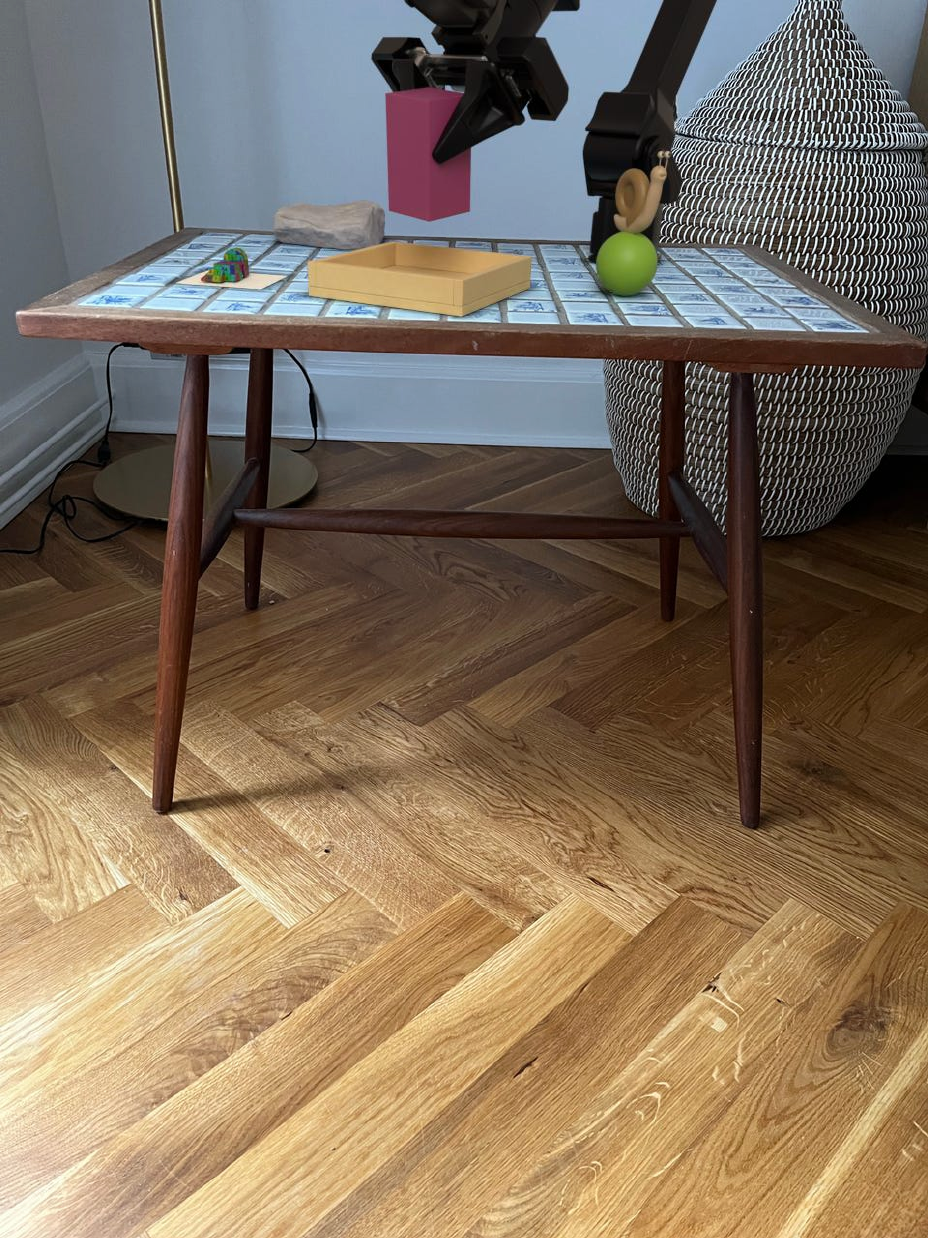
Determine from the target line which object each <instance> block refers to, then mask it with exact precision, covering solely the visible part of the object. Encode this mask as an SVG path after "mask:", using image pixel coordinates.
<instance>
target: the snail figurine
mask: <svg viewBox="0 0 928 1238" xmlns="http://www.w3.org/2000/svg"><path fill="white" fill-rule="evenodd" d="M670 156H671V153H670V152H669V151H666V152H665V153H664V152H663V151H660V152H659V153H658V157H659V158H660V164H661V158H663V157H665V158H666V159H667V160H668V158H669V157H670ZM666 167H667V161H666V166H665V168H664V167H663V166H660V165H659V166H656V167H654V168H653V170H652V171H651V175H650V178H651V183H649V180H648V178H647V176H646V175H645V174H644V172H642V171H641V170H639V169H629V170H627V171H626V172H625V173H624V174H623V175H622V176H621V177H620V179H619V181H618V184H617V187H616V194H615V201H616V206H617V209H618V212H619V214H620V215H618V214H615V215H614V221H615V224H616V227H617V228H618V229H619V230H620V231H621V232H619V233H617V234H614V235H613V236H611V237H610V238H609V239H607V240H606V241H605V243H604V244H603V245H602V247H601V248H600V250H599V253H598V255H597V260H596V261H595V271H596V275H597V278H598V280H599V282H600V283H601V285H602V286H603V287H604V288H605V289H606V290H607V291H609V292H610V293H611V294H614V295H617V296H623V297H628V296H633V295H636V294H639V293H640V292H642V291H644V290H645V289H646V288H647V287H649V285H650V284H651V283H652V281H653V280H654V278H655V276H656V273H657V270H658V263H659V260H658V259H657V253H656V250H655V247H654V246H653V244H652V242H651V241H650V240H649V239H648V238H647V237H646V236H644V235H642V234H640V232H642V231H643V230H645V229H646V228H647V227H649V225H650V224H651V223H652V221H653V219H654V217H655V214H656V211H657V209H658V206H659V202H660V198H661V194H662V188H663V183H664V181H665V179H666V176H667V172H666Z"/></svg>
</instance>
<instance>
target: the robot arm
mask: <svg viewBox="0 0 928 1238" xmlns="http://www.w3.org/2000/svg"><path fill="white" fill-rule="evenodd" d="M403 1H404V3H405V4H406V5H407V6H408V7H409V8H410V9H412V8H413V9H416V10H417V11H418V12H419V13H420V14H421V15H423V16H424V17H425V18H426V19H427V20H428V21H430V22H431V23H432V24H433V25H435V26H434V27H433V28H432V31H431V32H430V34H431V36H432V37H433V39H434V41H435V43H436V44H437V46H442V48H443V49H444V50H443V52H442V53H441V54H440V53H438V54H437V53H431V52H429V50H428V49H427V47H426V46H425V44H424V41H422V39H421V37H413V36H382V38H381V39H380V41H379V43H378V44H377V45H376V47H375V48H374V50H373V51H372V52H371V57H370V59H371V61H372V63H373V64H374V66H375V67H376V69H377V70H378V73H380V75H381V77H382V78H383V79H384V81H385V82H386V84H387V86H388V87H389V88H390V90H391V91H392V92H398V91H405V90H413V89H420V88H428V87H430V88H436V89H442V90H446V87H447V86H449V87H450V88H451V91H454V92H461V93H464V94H463V96H462V98H461V99H460V101H459V103H458V105H457V106H456V108H455V110H454V112H453V114H452V115H451V117H450V119H449V121H448V122H447V124H446V126H445V128H444V130H443V131H442V133H441V136H440V138H439V140H438V142H437V144H436V146H435V148H434V150H433V152H432V157H433V158H434V160H435V161H436V163H437V164H443V163H444V162H446V161H448V160H450V159H452V158H453V157H455V156H457V155H459V154H461V153H462V152H464V151H466V150H468V149H470V148H471V149H472V148H473V147H475V146H477V145H479V144H480V143H481V144H482V143H483V142H485V141H486V140H488V139H490V138H493V137H495V136H496V135H499V134H501V133H503V132H505V131H508V130H509V129H511V128H513V127H517V126H522V125H523V124H524V123H525V121H526V117H525V114H524V113H523V111H524V109H525V108H526V110H527V113H528V116H529V119H531V121H548V122H556V121H557V119H558V118H559V116H560V114H562V111H563V110H564V108H565V107H566V105H567V104H568V101H569V92H570V87H569V83H568V81H567V79H566V77H565V75H564V73H563V70H562V69H561V67H560V65H559V63H558V60H557V58H556V56H555V54H554V52H553V50H552V48H551V46H550V44H549V42H548V40H547V37H542V36H537V35H538V33H539V31H540V30H541V28H542V27H543V25H544V23H545V22H546V20H547V19H548V17H549V16H550V14H551V13H552V12H553V13H555V12H578V11H579V10H580V8H581V0H403ZM717 2H718V0H662V2H661V4H660V7H659V10H658V11H657V14H656V17H655V18H654V21H653V24H652V26H651V29H650V31H649V33H648V36H647V38H646V41H645V43H644V45H643V48H642V50H641V52H640V55H639V56H638V59H637V61H636V64H635V66H634V69H633V72H632V74H631V75H630V78H629V81H628V82H627V84H626V86H625V87H624V88H623V89H622V90H621V91H603V92H602V94H601V95H600V97H599V98H598V100H597V101H596V102H597V103H596V106H595V109H594V112H593V115H592V117H591V119H590V121H589V122H588V124H587V125H586V126H585V128H584V131H585V132H587V134H586V136H585V139H584V142H583V146H582V163H583V172H584V178H585V186H586V188H585V189H586V194H587V196H588V197H599V198H598V206H597V210H595V211H594V212H593V213H592V218H591V219H592V220H591V230H590V241H589V242H590V243H589V253H590V254H589V255H588V256H587V260H588V261H592V262H596V260H597V255H598V253H599V250H600V248H601V247H602V245H603V244H604V243H605V241H606V240H607V239H609V238H610V237H611V236H613V235H614V234H617V233H619V232H621V231H620V230H619V229H618V228H617V227H616V224H615V221H614V215H615V214H618V215H620V214H619V212H618V209H617V206H616V201H615V194H616V187H617V184H618V181H619V179H620V177H621V176H622V175H623V174H624V173H625V172H626V171H627V170H629V169H639V170H641V171H642V172H644V174H645V175H646V176H647V178H648V180H649V183H651V178H650V175H651V171H652V170H653V168H654V167H656V166H659V165H660V166H663V167H664V168H665V166H666V161H667V167H666V172H667V176H666V179H665V181H664V183H663V188H662V194H661V198H660V202H659V206H658V209H657V211H656V214H655V217H654V219H653V221H652V223H651V224H650V225H649V227H647V228H646V229H645V230H643V231H642V232H640V234H642V235H644V236H646V237H647V238H648V239H649V240H650V241H651V242H652V244H653V246H654V247H655V250H656V253H657V259H658V261H660V260H662V256H663V255H662V254H660V253H659V245H660V238H661V228H662V222H663V221H662V219H663V214H664V205H670V204H671V205H673V203H677V202H678V200H679V196H680V194H681V190H682V187H683V184H684V180H683V176H682V175H681V172H680V170H679V167H678V165H677V162H676V160H675V157H674V154H673V152H672V149H673V145H674V143H675V139H676V128H675V122H674V121H675V120H674V114H673V113H674V112H673V105H674V103H675V100H676V98H677V96H678V93H679V91H680V88H681V87H682V84H683V81H684V79H685V76H686V74H687V72H688V69H689V67H690V65H691V63H692V60H693V58H694V55H695V53H696V51H697V48H698V47H699V44H700V41H701V39H702V37H703V35H704V32H705V30H706V28H707V25H708V23H709V20H710V18H711V16H712V13H713V11H714V9H715V7H716V5H717ZM660 151H663V152H664V153H665V152H666V151H669V152H670V153H671V156H670V157H669V158H668V160H667V159H666V158H665V157H663V158H661V164H660V158H659V157H658V153H659V152H660Z"/></svg>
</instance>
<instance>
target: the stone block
mask: <svg viewBox="0 0 928 1238" xmlns="http://www.w3.org/2000/svg"><path fill="white" fill-rule="evenodd" d="M385 227H386V213H385V210H384V208H383V207H382V206H381V205H380V204H378V203H376V202H374V201H372V200H366V199H365V200H356V201H353V202H345V203H339V204H328V205H317V204H310V203H308V202H305V201H303V202H298V203H296V204H294V205H284V206H282V207H280V208H278V210H277V211H276V212H275V214H274V218H273V235H274V239H275V240H276V241H277V242H280V243H283V244H292V245H302V246H309V247H316V248H325V249H331V248H332V249H336V250H348V251H349V250H350V251H351V250H358V249H362V248H367V247H371V246H375V245H379V244H381V243H382V241H383V239H384V237H385Z"/></svg>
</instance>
